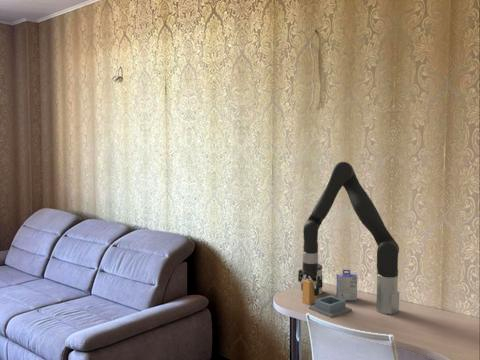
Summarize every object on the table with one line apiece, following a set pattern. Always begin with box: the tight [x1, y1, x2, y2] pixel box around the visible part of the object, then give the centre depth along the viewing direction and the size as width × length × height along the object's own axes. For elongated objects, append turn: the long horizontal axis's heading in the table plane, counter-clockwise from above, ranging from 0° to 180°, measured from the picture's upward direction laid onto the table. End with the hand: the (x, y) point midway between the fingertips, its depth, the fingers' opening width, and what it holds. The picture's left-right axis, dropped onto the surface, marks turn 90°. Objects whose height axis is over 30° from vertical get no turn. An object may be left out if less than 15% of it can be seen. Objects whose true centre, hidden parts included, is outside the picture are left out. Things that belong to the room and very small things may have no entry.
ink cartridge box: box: [335, 269, 358, 301], centre depth 231 cm, size 10×6×14 cm, turn 89°
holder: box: [308, 294, 352, 318], centre depth 216 cm, size 14×14×4 cm
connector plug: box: [301, 278, 319, 305], centre depth 226 cm, size 4×6×12 cm
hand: (309, 293), depth 226 cm, fingers open, 8 cm apart
